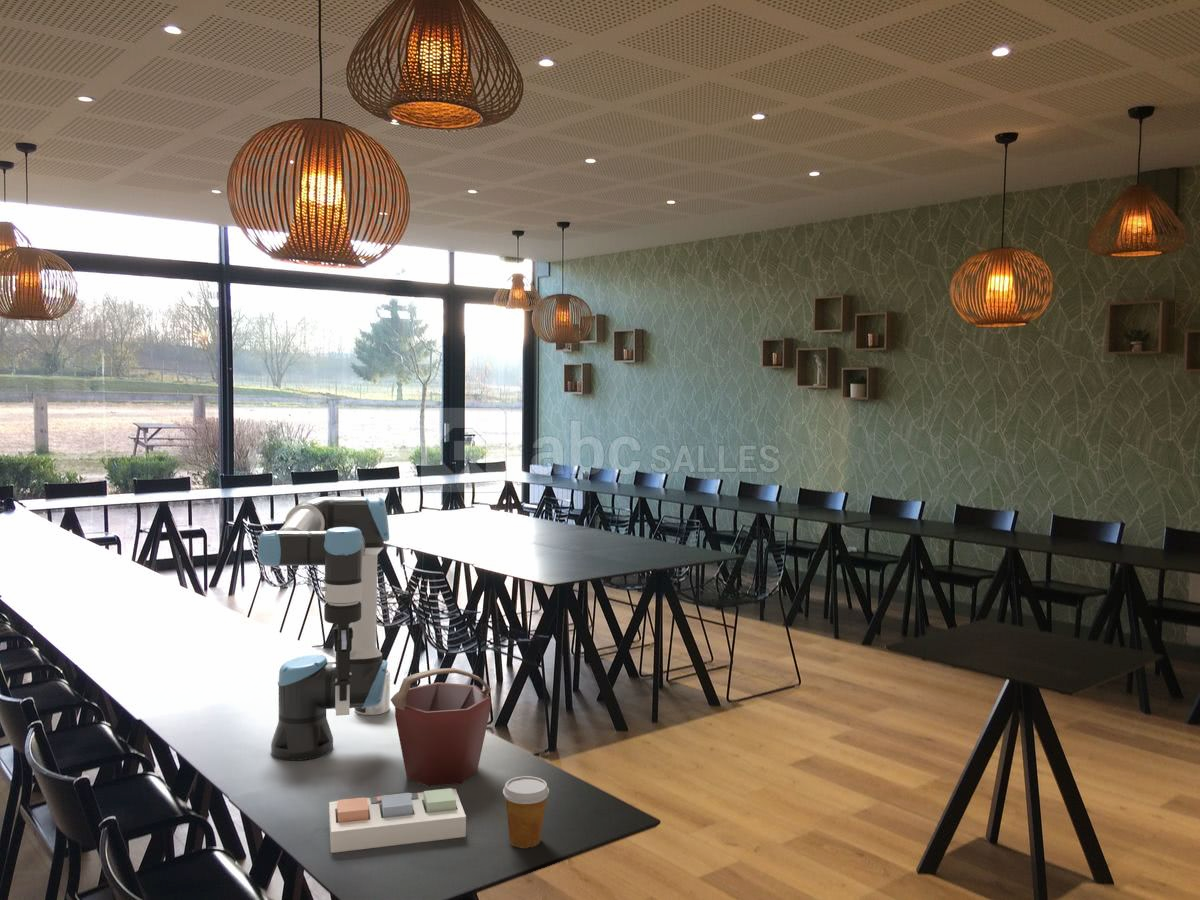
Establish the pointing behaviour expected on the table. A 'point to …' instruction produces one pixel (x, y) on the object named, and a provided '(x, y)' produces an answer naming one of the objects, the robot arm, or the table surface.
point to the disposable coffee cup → (525, 809)
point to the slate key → (396, 805)
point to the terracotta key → (352, 810)
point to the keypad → (395, 826)
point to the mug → (384, 704)
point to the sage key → (439, 800)
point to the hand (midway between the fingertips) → (342, 711)
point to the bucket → (441, 727)
